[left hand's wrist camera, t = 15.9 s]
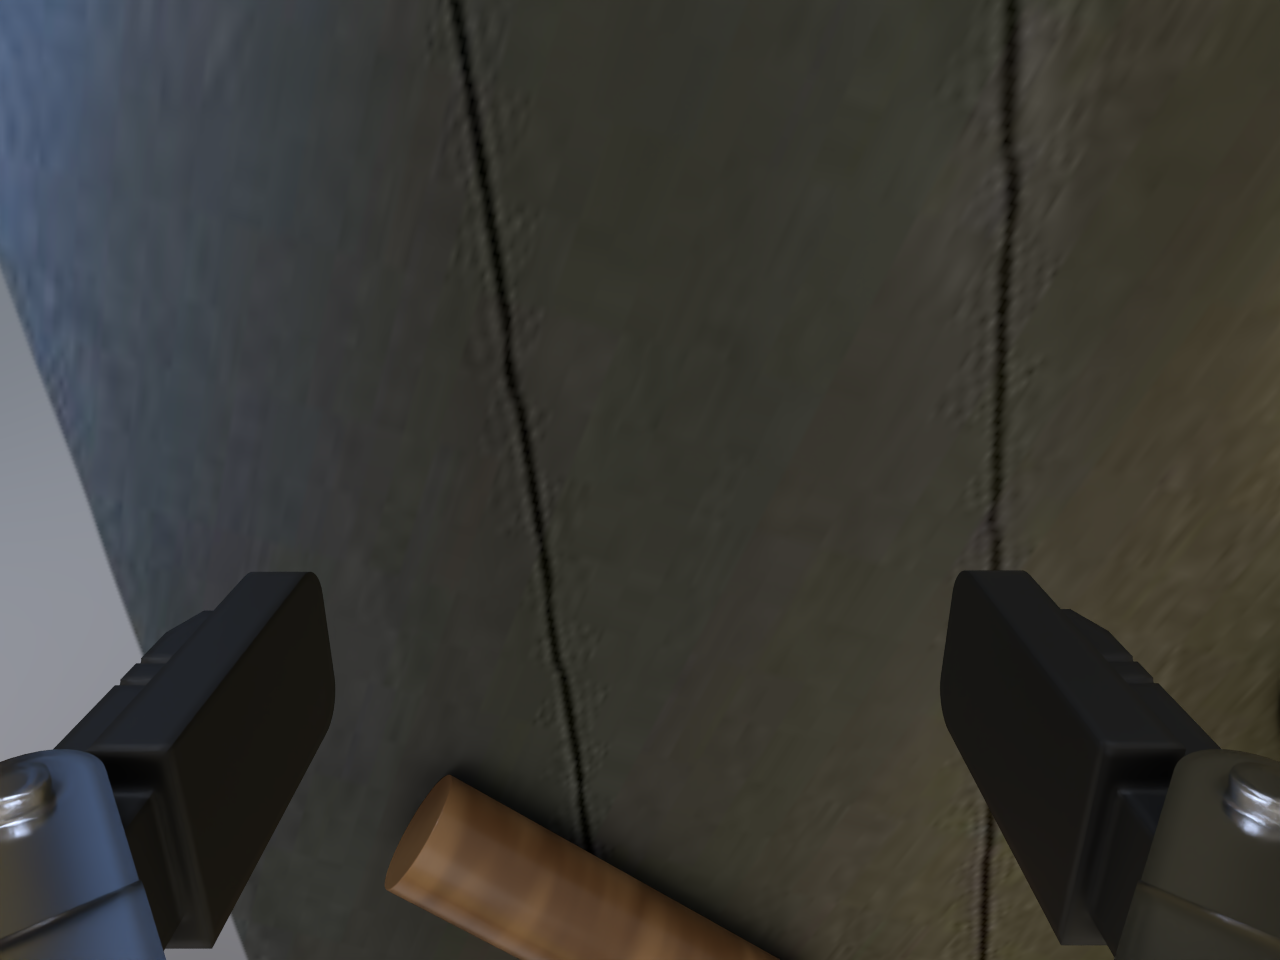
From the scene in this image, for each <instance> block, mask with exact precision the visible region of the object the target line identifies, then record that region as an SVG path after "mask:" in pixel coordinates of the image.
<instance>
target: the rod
mask: <svg viewBox="0 0 1280 960" xmlns="http://www.w3.org/2000/svg"><path fill="white" fill-rule="evenodd" d="M385 888H386V890H387V891H389V892H391V893H393V894H395V895H397V896H399V897H401V898H403V899H405V900H407V901H409V902H410V903H412V904H414V905H416V906H418V907H420V908H422V909H424V910H426V911H428V912H430V913H432V914H434V915H435V916H437V917H439V918H441V919H443V920H445V921H447V922H449V923H451V924H453V925H455V926H457V927H459V928H460V929H462V930H464V931H466V932H468V933H470V934H472V935H474V936H476V937H478V938H480V939H482V940H484V941H485V942H487V943H489V944H491V945H493V946H495V947H497V948H499V949H501V950H503V951H505V952H507V953H509V954H510V955H512V956H514V957H516V958H518V959H520V960H780V959H778V958H776V957H775V956H773V955H771V954H769V953H768V952H766V951H764V950H762V949H760V948H759V947H757V946H755V945H753V944H751V943H750V942H748V941H746V940H744V939H743V938H741V937H739V936H737V935H735V934H734V933H732V932H730V931H728V930H726V929H725V928H723V927H721V926H719V925H718V924H716V923H714V922H712V921H710V920H709V919H707V918H705V917H703V916H701V915H700V914H698V913H696V912H694V911H693V910H691V909H689V908H687V907H685V906H684V905H682V904H680V903H678V902H676V901H675V900H673V899H671V898H669V897H668V896H666V895H664V894H662V893H660V892H659V891H657V890H655V889H653V888H652V887H650V886H648V885H646V884H644V883H643V882H641V881H639V880H637V879H635V878H634V877H632V876H630V875H628V874H627V873H625V872H623V871H621V870H619V869H618V868H616V867H614V866H612V865H610V864H609V863H607V862H605V861H603V860H602V859H600V858H598V857H596V856H594V855H593V854H591V853H589V852H587V851H585V850H584V849H582V848H580V847H578V846H577V845H575V844H573V843H571V842H569V841H568V840H566V839H564V838H562V837H560V836H559V835H557V834H555V833H553V832H552V831H550V830H548V829H546V828H544V827H543V826H541V825H539V824H537V823H535V822H534V821H532V820H530V819H528V818H527V817H525V816H523V815H521V814H519V813H518V812H516V811H514V810H512V809H510V808H509V807H507V806H505V805H503V804H502V803H500V802H498V801H496V800H494V799H493V798H491V797H489V796H487V795H485V794H484V793H482V792H480V791H478V790H477V789H475V788H473V787H471V786H469V785H468V784H466V783H464V782H462V781H460V780H459V779H457V778H455V777H453V776H452V775H447V776H445V777H443V778H442V779H441V780H440V781H439V782H438V783H437V784H436V785H435V786H434V788H433V789H432V790H431V791H430V793H429V794H428V795H427V797H426V798H425V799H424V801H423V802H422V804H421V805H420V807H419V808H418V810H417V812H416V813H415V815H414V816H413V818H412V820H411V822H410V823H409V825H408V827H407V829H406V831H405V832H404V834H403V836H402V838H401V840H400V842H399V844H398V846H397V848H396V851H395V853H394V855H393V858H392V860H391V863H390V865H389V868H388V871H387V875H386V879H385Z"/></svg>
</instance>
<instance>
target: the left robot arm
mask: <svg viewBox="0 0 1280 960" xmlns="http://www.w3.org/2000/svg"><path fill="white" fill-rule="evenodd" d="M1132 657H1133V656H1132V655H1131V654H1130V653H1129V652H1128V651H1127V650H1126V649H1125V648H1124V647H1123V646H1122V645H1121V644H1120V643H1119V642H1118V641H1117V640H1116V639H1115V638H1114V637H1113V636H1112V635H1111V633H1110V632H1109V631H1107V630H1106V629H1104V628H1102V627H1100V626H1099V625H1097V624H1095V623H1093V622H1092V621H1090V620H1088V619H1086V618H1085V617H1083V616H1081V615H1079V614H1078V613H1076V612H1074V611H1073V610H1071V609H1060V608H1059V607H1058V606H1057V605H1056V604H1055V602H1054V601H1053V600H1052V599H1051V598H1050V597H1049V596H1048V595H1047V594H1046V592H1045V591H1044V590H1043V589H1042V588H1041V587H1040V586H1039V585H1038V584H1037V582H1036V581H1035V580H1034V579H1033V578H1032V577H1031V576H1030V575H1029V574H1028V573H1027V572H1025V571H962V572H960V573H959V575H958V576H957V578H956V581H955V584H954V588H953V594H952V601H951V608H950V615H949V622H948V629H947V636H946V644H945V651H944V658H943V665H942V672H941V681H940V696H941V706H942V711H943V716H944V720H945V723H946V726H947V728H948V731H949V733H950V734H951V736H952V738H953V740H954V742H955V744H956V746H957V748H958V750H959V752H960V753H961V755H962V757H963V759H964V761H965V763H966V765H967V767H968V769H969V771H970V773H971V774H972V776H973V778H974V780H975V782H976V784H977V786H978V788H979V790H980V792H981V794H982V795H983V797H984V799H985V801H986V803H987V805H988V807H989V809H990V811H991V813H992V814H993V816H994V818H995V820H996V822H997V824H998V826H999V828H1000V830H1001V832H1002V834H1003V835H1004V837H1005V839H1006V841H1007V843H1008V845H1009V847H1010V849H1011V851H1012V853H1013V854H1014V856H1015V858H1016V860H1017V862H1018V864H1019V866H1020V868H1021V870H1022V872H1023V874H1024V875H1025V877H1026V879H1027V881H1028V883H1029V885H1030V887H1031V889H1032V891H1033V893H1034V895H1035V896H1036V898H1037V900H1038V902H1039V904H1040V906H1041V908H1042V910H1043V912H1044V914H1045V915H1046V917H1047V919H1048V921H1049V923H1050V925H1051V927H1052V929H1053V931H1054V933H1055V935H1056V936H1057V938H1058V940H1059V942H1060V944H1061V945H1108V947H1109V949H1110V950H1111V952H1112V954H1113V956H1114V957H1115V958H1114V960H1280V762H1278V761H1275V760H1273V759H1270V758H1266V757H1263V756H1259V755H1256V754H1251V753H1246V752H1242V751H1234V750H1226V749H1221V748H1220V747H1219V746H1218V745H1217V744H1216V743H1215V742H1214V741H1213V740H1212V739H1211V738H1210V737H1209V736H1208V735H1207V734H1206V733H1205V732H1204V730H1203V729H1202V728H1201V727H1200V726H1199V725H1198V724H1197V723H1196V722H1195V721H1194V720H1193V719H1192V718H1191V717H1190V716H1189V715H1188V714H1187V713H1186V712H1185V711H1184V710H1183V709H1182V708H1181V706H1180V705H1179V704H1178V703H1177V702H1176V701H1175V700H1174V699H1173V698H1172V697H1171V696H1170V695H1169V694H1168V693H1167V692H1166V691H1165V690H1164V689H1163V688H1162V687H1161V686H1160V685H1159V684H1158V683H1153V677H1152V676H1151V675H1150V674H1149V673H1148V672H1147V671H1146V670H1145V669H1144V668H1143V667H1142V666H1141V665H1140V664H1139V663H1138V662H1133V659H1132ZM334 703H335V678H334V671H333V664H332V657H331V650H330V643H329V636H328V629H327V622H326V615H325V608H324V601H323V594H322V588H321V585H320V582H319V579H318V578H317V576H316V575H315V574H314V573H312V572H250V573H248V574H247V575H246V576H245V577H244V578H243V579H242V580H241V581H240V582H239V583H238V584H237V586H236V587H235V588H234V589H233V590H232V591H231V592H230V593H229V594H228V595H227V597H226V598H225V599H224V600H223V601H222V602H221V603H220V604H219V605H218V606H217V608H216V609H215V610H214V611H203V612H201V613H199V614H198V615H196V616H194V617H192V618H191V619H189V620H187V621H185V622H184V623H182V624H180V625H178V626H177V627H175V628H173V629H172V630H170V631H168V632H166V633H165V634H164V635H163V636H162V637H161V638H160V639H159V640H158V641H157V642H156V644H155V645H154V646H153V647H152V648H151V649H150V650H149V651H148V652H147V653H146V654H145V655H144V656H143V657H142V658H141V663H137V664H135V665H134V666H133V667H132V668H131V669H130V670H129V671H128V672H127V673H126V675H125V676H124V677H123V678H122V679H121V682H120V685H115V686H114V687H113V688H112V689H111V690H110V691H109V692H108V693H107V694H106V695H105V696H104V697H103V698H102V699H101V701H99V702H98V703H97V705H96V706H95V707H94V708H93V709H92V710H91V711H90V712H89V713H88V714H87V715H86V716H85V717H84V718H83V719H82V720H81V721H80V722H79V723H78V724H77V725H76V726H75V727H74V728H73V729H72V730H71V731H70V732H69V734H68V735H67V736H66V737H65V738H64V739H63V740H62V741H61V742H60V743H59V744H58V745H57V746H56V747H55V748H54V749H53V750H46V751H38V752H34V753H29V754H24V755H21V756H17V757H14V758H10V759H7V760H5V761H2V762H0V960H166V958H165V955H164V949H165V948H212V947H213V946H214V944H215V942H216V940H217V938H218V936H219V934H220V932H221V931H222V929H223V927H224V925H225V923H226V921H227V919H228V917H229V915H230V914H231V912H232V910H233V908H234V906H235V904H236V902H237V900H238V899H239V897H240V895H241V893H242V891H243V889H244V887H245V885H246V883H247V882H248V880H249V878H250V876H251V874H252V872H253V870H254V868H255V867H256V865H257V863H258V861H259V859H260V857H261V855H262V853H263V851H264V850H265V848H266V846H267V844H268V842H269V840H270V838H271V836H272V835H273V833H274V831H275V829H276V827H277V825H278V823H279V821H280V819H281V818H282V816H283V814H284V812H285V810H286V808H287V806H288V804H289V803H290V801H291V799H292V797H293V795H294V793H295V791H296V789H297V787H298V786H299V784H300V782H301V780H302V778H303V776H304V774H305V772H306V771H307V769H308V767H309V765H310V763H311V761H312V759H313V757H314V755H315V754H316V752H317V750H318V748H319V746H320V744H321V742H322V740H323V739H324V737H325V735H326V733H327V731H328V729H329V726H330V723H331V719H332V715H333V710H334Z"/></svg>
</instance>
